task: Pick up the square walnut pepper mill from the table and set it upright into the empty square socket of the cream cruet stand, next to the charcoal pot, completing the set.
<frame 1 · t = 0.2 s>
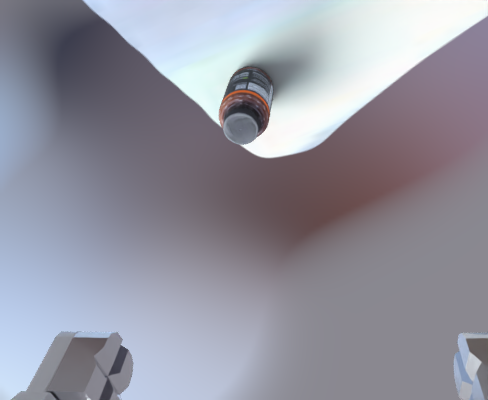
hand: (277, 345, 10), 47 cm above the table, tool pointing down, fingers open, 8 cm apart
supplement bottle: (251, 86, 57), on the table
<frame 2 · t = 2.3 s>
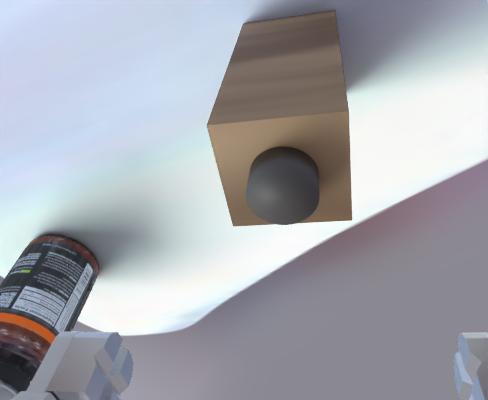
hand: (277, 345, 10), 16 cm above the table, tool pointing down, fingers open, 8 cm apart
supplement bottle: (66, 256, 35), on the table
walnut pepper mill: (293, 61, 23), on the table
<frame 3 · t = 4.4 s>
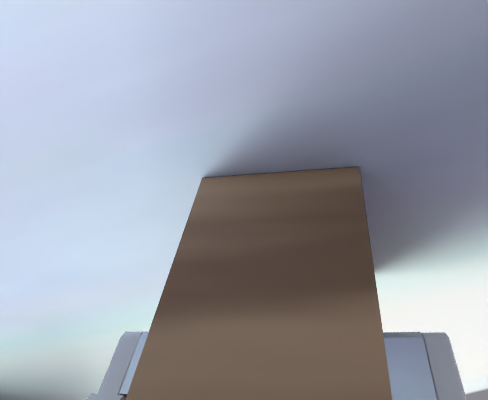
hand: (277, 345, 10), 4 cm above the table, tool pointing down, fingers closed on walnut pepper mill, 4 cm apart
walnut pepper mill: (286, 231, 14), on the table, touching gripper
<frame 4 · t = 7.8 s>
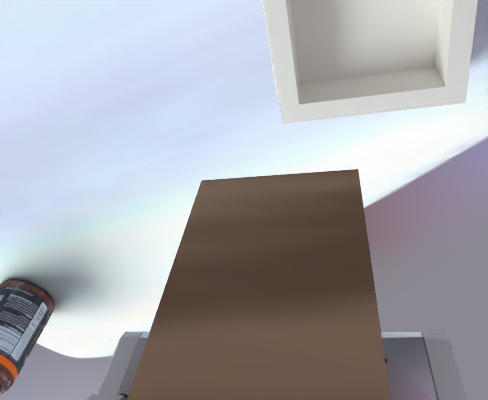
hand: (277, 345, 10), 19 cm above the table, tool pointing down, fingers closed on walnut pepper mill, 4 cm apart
supplement bottle: (28, 295, 44), on the table
walnut pepper mill: (286, 233, 14), point 15 cm above the table, touching gripper
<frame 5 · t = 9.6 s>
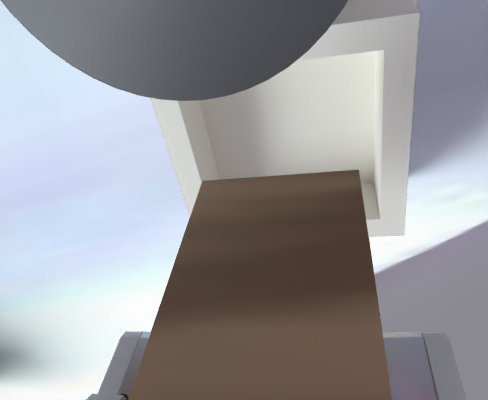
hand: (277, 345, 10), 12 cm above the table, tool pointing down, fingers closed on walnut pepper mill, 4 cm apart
cruet stand: (276, 2, 17), on the table
walnut pepper mill: (286, 233, 14), point 8 cm above the table, touching gripper
when the fingers open (8 cm above the table, at t = 11.2 s): walnut pepper mill drops 2 cm, resting on cruet stand.
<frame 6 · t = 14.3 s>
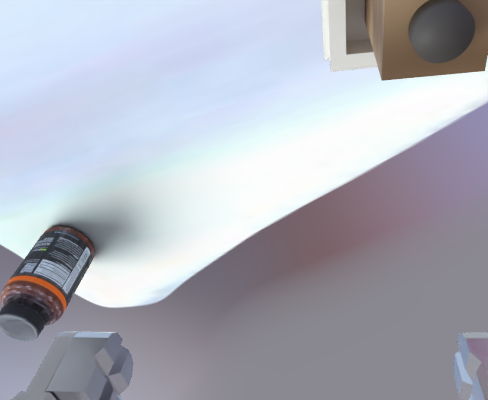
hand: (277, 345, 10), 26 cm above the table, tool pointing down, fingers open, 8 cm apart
supplement bottle: (71, 242, 48), on the table
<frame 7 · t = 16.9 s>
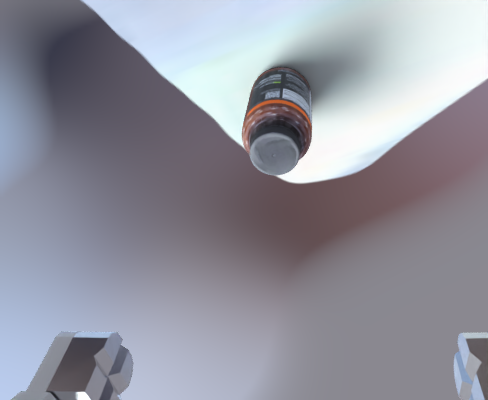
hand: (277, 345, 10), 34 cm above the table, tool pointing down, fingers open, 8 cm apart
supplement bottle: (281, 93, 43), on the table
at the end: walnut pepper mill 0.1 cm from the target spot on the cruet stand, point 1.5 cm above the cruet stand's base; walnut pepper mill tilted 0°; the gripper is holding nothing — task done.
